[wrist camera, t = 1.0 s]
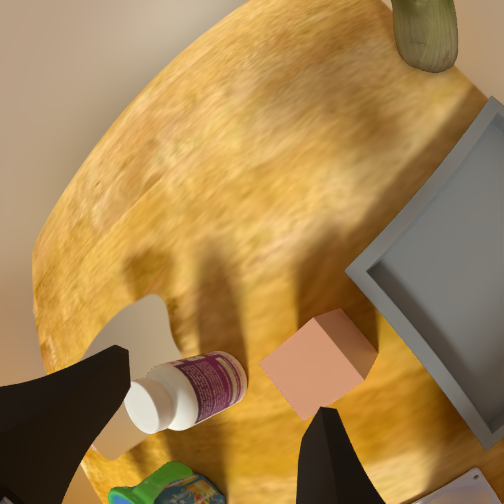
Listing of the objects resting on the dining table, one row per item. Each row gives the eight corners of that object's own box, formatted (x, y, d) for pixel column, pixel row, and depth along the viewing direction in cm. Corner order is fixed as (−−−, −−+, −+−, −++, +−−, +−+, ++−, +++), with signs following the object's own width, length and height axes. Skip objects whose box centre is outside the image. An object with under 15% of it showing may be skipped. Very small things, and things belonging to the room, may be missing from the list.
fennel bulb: (453, 42, 15) (438, -65, 5) (467, 82, 15) (468, -35, 5) (395, 42, 18) (357, -63, 8) (404, 81, 18) (370, -37, 8)
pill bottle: (221, 337, 25) (132, 355, 17) (260, 382, 23) (177, 423, 14) (193, 372, 26) (110, 394, 18) (226, 414, 24) (147, 452, 16)
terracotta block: (378, 353, 18) (364, 380, 13) (332, 388, 19) (303, 421, 14) (340, 307, 20) (313, 317, 15) (298, 344, 21) (258, 363, 16)
